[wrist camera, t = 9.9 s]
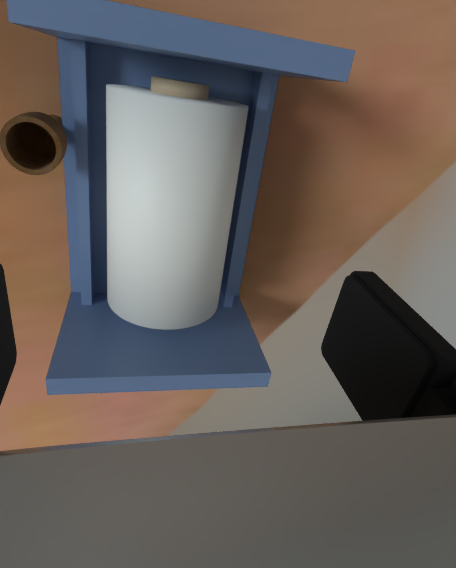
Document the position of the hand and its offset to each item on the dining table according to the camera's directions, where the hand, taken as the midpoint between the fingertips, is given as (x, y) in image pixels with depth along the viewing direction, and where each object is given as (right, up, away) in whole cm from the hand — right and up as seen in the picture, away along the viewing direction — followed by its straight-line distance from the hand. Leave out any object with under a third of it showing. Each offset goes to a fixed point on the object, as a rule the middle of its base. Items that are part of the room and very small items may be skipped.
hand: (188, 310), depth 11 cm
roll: (-3, +6, +12) cm, 14 cm away
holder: (-3, +7, +13) cm, 15 cm away
